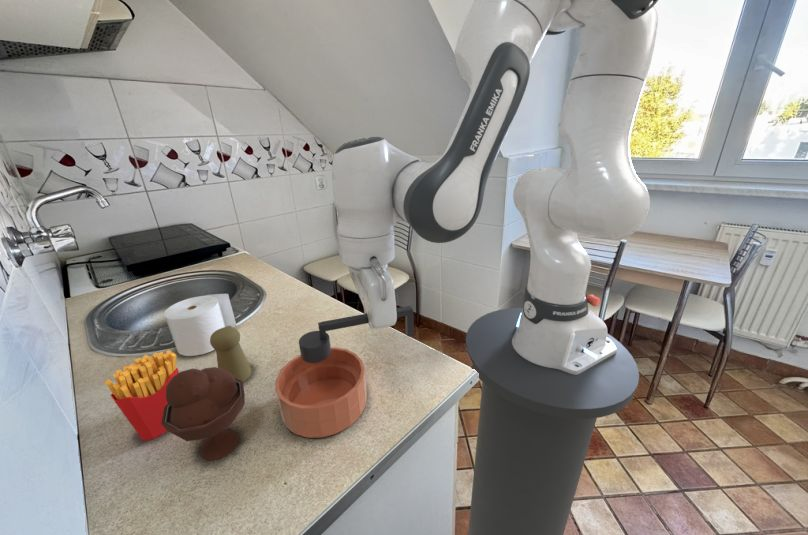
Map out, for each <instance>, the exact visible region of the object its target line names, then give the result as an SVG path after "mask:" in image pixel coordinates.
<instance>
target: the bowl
mask: <svg viewBox="0 0 808 535" xmlns="http://www.w3.org/2000/svg"><path fill="white" fill-rule="evenodd" d="M365 369H366V368H365V365H364V362H363V360H362V359H361V358H360V356H359V355H358V354H357V353H355V352H353V351H351V350H349V349H347V348H342V347H335V346H334V347H331V354H330V356H329V357H328V358H327V359H325V360H323V361H321V362H317V363H308V362H305V361H304V360H303V359H302V358H301V354H299V355H296V357H294V358H292V359H291V360H289V361H288V362H287V363H286V364H285V365H284V366H283V367H282V368H281V370H280V371H279V372H278V375H277V376H276V379H275V382H274V383H275V384H274V392H275V395H276V396H275V397H276V399H277V404H278V408H279V412H280V418H281V419H282V422H283V425H284V426H285V428H286V429H288V430H289V431H290V432H292V433H293V434H294V435H296V436H300V437H303V438H310V439H311V438H326V437H329V436H332V435H336V434H339V433H340V432H342V431H344V430H345V429H347V428H349V427H350V426H352V425H353V424H354V423H355V422H356V421H357V419H359V418H360V417H361V416H362V413H363V411H364V410H365V408H366V406H367V399H368V388H367V378H366V370H365Z"/></svg>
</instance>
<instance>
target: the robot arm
mask: <svg viewBox="0 0 808 535" xmlns="http://www.w3.org/2000/svg"><path fill="white" fill-rule="evenodd" d="M658 2H659V0H474V1H473V3H472V4H471V6H470V9H469V11H468V13H467V15H466V17H465V18H464V21H463V24H462V26H461V29H460V32H459V35H458V38H457V41H456V44H455V48H454V60H455V64H456V68H457V70H458V73H459V75H460V76H461V78H462V79H463V80H464V82H466V83H467V85H469V87H470V90H469V95H468V98H467V101H466V104H465V106H464V108H463V110H462V113H461V114H460V117H459V120H458V121H457V124H456V126H455V128H454V131H453V133H452V135H451V137H450V140H449V142H448V144H447V147H446V149H445V151H444V152H443V153H442V154H441V156H440V157H438V159H436V160H435V161H434V162H432V161H429V160H426V159H421V158H419V157H416V156H414V155H412V154H409V153H407V152H405V151H403V150H401V149H399V148H397V147H396V146H394V145H393V144H391V143H390V142H389V141H387V139H386V138H384V137H382V136H370V137H367V138H366V137H363V138H360V139H354V140H351V141H347V142H345V143H343V144H341V145H340V146H339V147H338V148H337V149H336V150H335V152H334V154H333V157H332V164H331V166H332V167H331V183H332V195H333V197H332V198H333V204H334V208H335V209H336V213H337V225H336V234H337V243H338V254H339V255H338V256H339V261H340V263H341V264H343V265H345V266H347V268H348V272H349V275H350V278H351V280H352V283H353V285H354V288H355V290H356V292H357V295H358V297H359V300H360V301H361V304H362V306H363V314H367V317H368V323H367V324H368V327H369V329H371V330H378V329H384V328H390V327H393V326H395V325H396V324H397V319H398V318H397V312H396V308H397V302H396V300H397V299H396V291H395V285H394V284H395V283H394V280H393V278H392V275H391V274H390V272H389V271H388V269H387V268H388V267H389V266H388V264H389V263H391V262H392V261H394V260H395V258H396V249H395V248H396V246H395V245H396V244H395V225H396V224H397V223H398V222H405V223H407V224H408V225H409V226H410V227H411V228H412V230H413V231H414V232H415V233H416V234H417V235H418V236H419V237H420V238H421V239H423V240H425V241H427V242H431V243H435V244H446V243H450V242H453V241H455V240H457V239H459V238H461V237H462V236H464V235H465V234H467V233H468V232H469V231H470V230H471V228H472V227H473V226H474V224H475V223H476V221H477V220H478V217H479V215H480V213H481V209H482V206H483V202H484V197H485V191H486V186H487V182H488V179H489V176H490V173H491V171H492V168H493V166H494V164H495V161H496V159H497V157H498V155H499V152H500V151H501V149H502V146H503V143H504V141H505V139H506V137H507V135H508V132H509V130H510V128H511V126H512V124H513V121H514V119H515V117H516V114H517V112H518V110H519V107H520V105H521V102H522V100H523V98H524V95H525V93H526V89H527V86H528V83H529V78H530V73H531V72H530V71H531V63H532V61H533V58H534V57H535V55H536V53H537V52H538V49H539V47H540V45H541V43H542V42H543V40H544V37H545V36H556V35H561V34H563V33H565V32H567V31H570V30H575V29H578V34H579V51H578V54H577V56H576V59H575V62H574V65H573V68H572V72H571V75H570V79H569V82H568V87H567V91H566V94H565V97H564V101H563V106H562V110H561V114H560V119H559V122H558V126H557V130H558V134H559V136H560V138H561V139H562V140H563V141H564V142H565V143H566V144H567V145H568V148H569V150H570V158H571V160H570V164H571V165H570V168H568V167H567V168H566V167H559V166H545V167H537V168H532V169H529V170H527V171H525V172H524V173H523V174H521V176H520V177H519V178H518V180H517V182H516V183H515V186H514V188H513V192H512V199H513V204H514V206H515V208H516V209H517V211H518V212H519V213H520V215H521V217H522V219H523V222H524V225H525V229H526V233H527V237H528V244H529V250H530V252H529V254H530V261H529V269H528V270H529V271H528V279H527V284H526V286H525V287H524V292H523V297H522V308H523V310H522V313H521V314H520V316H519V319H518V322H517V327H516V332H515V334H514V336H513V338H512V345H513V347H514V349H515V351H516V352H517V353H518V354H519V355H521V356H522V357H523V358H525V359H526V360H528V361H530V362H532V363H534V364H537V365H540V366H544V367H548V368H554V369H559V370H562V371H564V372H567V373H570V374H574V375H577V374H580V373H581V372H583V371H585V370H587V369H589V368H590V367H592V366H594V365H596V364H597V363H599V362H601V361H603V360H604V359H606V358H608V357H610V356H612V355H613V354H615V353H616V352H617V348H616V346H615V344H614V343H613V342H612V341H611V340H610V339H609V338H608V337H607V333H608V327H607V324H606V323H605V322H604V320H603V319H602V318H600V317H599V316H598V315H597V314H595V312H593V311H591V309H589V304H590V305H591V306H592V307H597V306H599V304H600V303H601V298H600V297H598V296H595V295H594V294H592V293H591V294H586V292H587V289H588V288H587V287H588V284H589V279H590V276H591V271H592V270H591V269H592V261H591V257H590V255H589V253H587V251H586V250H585V249H584V248H583V246H582V244H581V242H580V241H579V240H580V239H579V237H578V235H581V236H584V237H587V238H591V239H601V240H609V241H610V240H611V241H619V240H623V239H626V238H628V237H629V236H631V235H633V234H634V233H636V232H637V231H638V230H639V229H640V228H641V227H642V225H643V224H644V223H645V221H646V220H647V218H648V215H649V212H650V208H651V198H650V194H649V191H648V189H647V187H646V185H645V184H644V183H643V182H642V181H641V179H640V178H639V177H638V175H637V174H636V170H635V169H634V166H633V163H632V159H631V158H632V157H631V148H630V145H631V144H630V142H631V133H632V128H633V125H634V121H635V116H636V113H637V110H638V107H639V102H640V99H641V96H642V93H643V90H644V87H645V85H646V81H647V79H648V78H647V77H648V74H649V71H650V67H651V63H652V59H653V55H654V51H655V45H656V38H657V33H658V32H657V31H658V23H659V15H658V11H657V9H656V8H655V5H656V4H657V3H658Z"/></svg>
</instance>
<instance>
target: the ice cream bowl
mask: <svg viewBox="0 0 808 535" xmlns="http://www.w3.org/2000/svg"><path fill="white" fill-rule="evenodd" d="M244 386H245V385H244V382H243V381H242V380H239V379H237V378H234V376H233V374H231V373H230V372H228V371H226V370H223V369H221V368H218V366H217V367H215V366H213V367H205V368H203V369H198V368H190V369H186V370H185V369H184V370H182V371H179V373H178V374H177V375H175V376H174V377H172V379H171V380H170V382H169V383H168V385H167V387H166V399H167V402H168V404H167V405H166V406H165V407H164V411H163V416H162V422H161V424H162V426H163V427H164V428H165V429H166V430H167V431H166V432H169V433H171V434H173V435H174V436H176V437H178V438H180V439H182V440H184V441H185V442H192V441H199V440H205V439H206V440H205V441H204V442H203V444H202V446H201V458H202V459H205V460H207V461H208V462H211V461H217V460H218V461H219V460H222V459H223V458H225V457H227V456H228V455H229V454H231V453H232V452H234V451H235V449H236V447H237V446H238V444H239V442H240V437H239V433H238V432H237V431H235V430H233V429H232V428H229V427H231V425H232V424H234V423H233V422H234V421H235V420H236V419H237V417H238V416H239V414H240V413H241V411H242V410H243V409H244V406H245V402H246V395H245V387H244Z"/></svg>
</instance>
